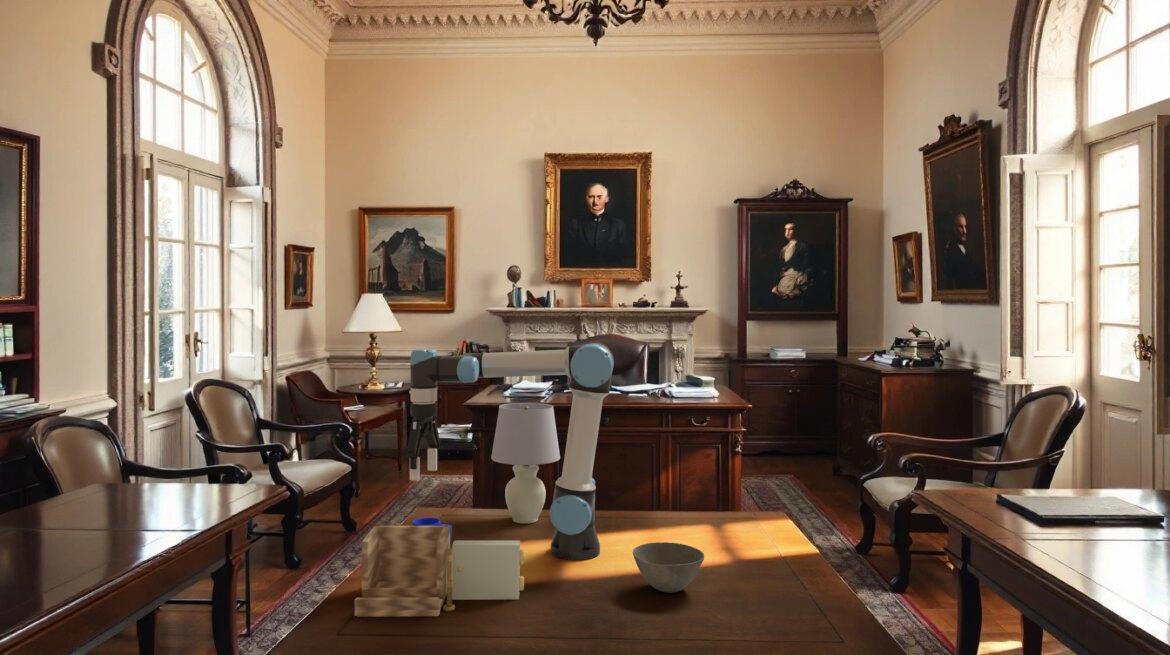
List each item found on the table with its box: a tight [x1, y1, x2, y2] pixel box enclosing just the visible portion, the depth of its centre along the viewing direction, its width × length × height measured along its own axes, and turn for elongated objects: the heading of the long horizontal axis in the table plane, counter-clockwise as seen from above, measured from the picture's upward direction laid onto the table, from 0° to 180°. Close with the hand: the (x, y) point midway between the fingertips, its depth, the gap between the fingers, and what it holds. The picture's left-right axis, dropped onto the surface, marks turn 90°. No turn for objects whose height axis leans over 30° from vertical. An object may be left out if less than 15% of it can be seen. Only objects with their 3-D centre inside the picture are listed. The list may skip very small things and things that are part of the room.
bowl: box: [632, 541, 705, 593], centre depth 208 cm, size 19×19×10 cm
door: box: [451, 540, 525, 601], centre depth 201 cm, size 18×5×14 cm, turn 93°
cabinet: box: [354, 525, 456, 617], centre depth 199 cm, size 23×21×16 cm
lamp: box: [490, 402, 561, 525], centre depth 273 cm, size 24×24×40 cm
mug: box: [412, 517, 453, 542], centre depth 235 cm, size 8×12×10 cm
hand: (423, 475), depth 228 cm, fingers open, 13 cm apart
